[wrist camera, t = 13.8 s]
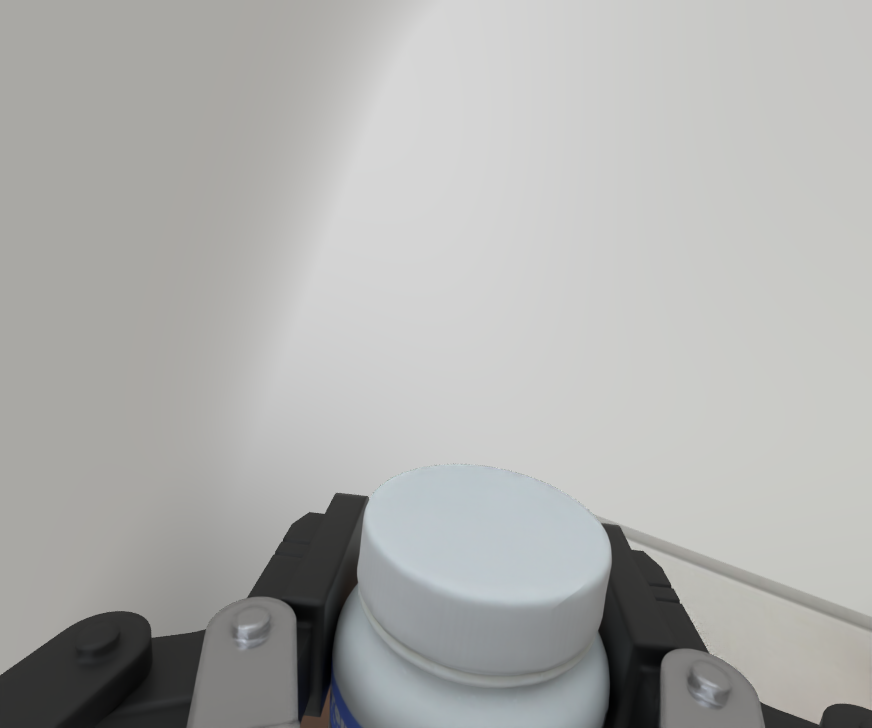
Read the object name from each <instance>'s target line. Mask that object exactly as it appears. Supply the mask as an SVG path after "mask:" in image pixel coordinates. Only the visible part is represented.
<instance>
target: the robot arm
mask: <svg viewBox="0 0 872 728" xmlns="http://www.w3.org/2000/svg"><path fill="white" fill-rule="evenodd" d="M368 501H369V497H368V496H361V495H352V494H342V493H336V494H335V495H334V497H333V499H332V501H331V503H330V505H329V507H328V509H327V511H326V513H325V514H319V513H311V512H309V513H308V514H306V515H305V516H303V517H302V518H300V519H299V520H297V521H296V522H295V523H293V524H292V525H291V527H290V528H289V530H288V532H287V534H286V535H285V537H284V539H283V542H281V543H280V545H279V546H278V548H277V550H276V551H275V555H273V556H272V558H271V560H270V561H269V563H268V565H267V566H266V568H265V569H264V571H263V573H262V574H261V576H260V578H259V579H258V581H257V583H256V584H255V586H254V587H253V589H252V591H251V592H250V594H249V596H248V597H247V598H246V599H242V600H239V601H236V602H234V603H232V604H230V605H228V606H226V607H224V608H223V609H221V610H220V611H219V612H218V613H217V614H216V615H215V616H214V617H213V618H212V619H211V621H210V622H209V624H208V626H207V629H205V630H201V631H198V632H192V633H186V634H179V635H171V636H163V637H156V638H152V637H151V627H150V624H149V623H148V621H147V620H146V619H145V618H144V617H142V616H140V615H139V614H136V613H132V612H125V611H115V612H107V613H103V614H98V615H95V616H92V617H89V618H86V619H84V620H81V621H79V622H77V623H76V624H74V625H72V626H70V627H69V628H67V629H66V630H64V631H63V632H61V633H60V634H58V635H57V636H56V637H54V638H53V639H51V640H50V641H48V642H47V643H46V644H44V645H43V646H41V647H40V648H38V649H37V650H36V651H34V652H33V653H31V654H30V655H29V656H27V657H26V658H24V659H23V660H21V661H20V662H19V663H17V664H16V665H14V666H13V667H12V668H10V669H9V670H7V671H6V672H4V673H3V674H2V675H0V728H300V724H301V721H302V719H303V716H304V715H305V716H313V717H321V714H322V711H323V707H324V704H325V701H326V698H327V695H328V691H329V688H330V685H331V661H332V650H333V642H334V635H335V631H336V626H337V622H338V618H339V615H340V612H341V610H342V607H343V605H344V603H345V601H346V600H347V598H348V596H349V595H350V593H351V592H352V590H353V589H354V587H355V586H356V585H357V584H358V578H357V566H358V560H359V555H360V545H361V535H362V526H363V518H364V512H365V508H366V506H367V504H368ZM601 525H602V526H603V528H604V529H605V531H606V533H607V535H608V538H609V541H610V545H611V555H612V565H611V570H610V575H609V581H608V586H607V591H606V596H605V604H604V611H603V617H602V620H601V624H600V627H599V629H598V632H599V634H600V636H601V639H602V642H603V645H604V647H605V651H606V654H607V657H608V664H609V675H610V694H609V709H608V712H607V716H606V720H605V724H604V727H603V728H872V710H869V709H866V708H863V707H860V706H856V705H851V704H834V705H831V706H829V707H827V708H826V710H825V711H824V713H823V716H822V719H821V721H820V724H819V725H818V724H815V723H813V722H810V721H807V720H804V719H802V718H799V717H796V716H794V715H791V714H788V713H785V712H783V711H780V710H777V709H775V708H772V707H770V706H768V705H765V704H763V703H761V702H760V701H759V698H758V695H757V693H756V691H755V689H754V688H753V686H752V685H751V684H750V682H749V681H748V680H747V679H746V678H745V677H744V676H743V675H742V674H741V673H740V672H739V671H738V670H737V669H735V668H734V667H732V666H731V665H730V664H728V663H727V662H725V661H723V660H722V659H720V658H718V657H716V656H714V655H711V654H709V652H708V650H707V648H706V647H705V645H704V643H703V641H702V639H701V638H700V636H699V634H698V632H697V630H696V629H695V627H694V625H693V623H692V621H691V620H690V618H689V616H688V614H687V612H686V611H685V609H684V607H683V605H682V604H680V600H679V598H678V596H677V594H676V593H675V591H674V589H672V588H671V584H670V582H669V580H668V578H667V576H666V575H665V573H664V571H663V569H662V567H660V566H659V565H658V564H657V563H656V562H655V561H654V560H653V559H651V558H650V557H649V556H648V555H647V554H646V553H645V552H644V551H637V550H631V548H630V546H629V544H628V542H627V540H626V538H625V536H624V534H623V532H622V530H621V528H620V526H619V525H613V524H605V523H601Z"/></svg>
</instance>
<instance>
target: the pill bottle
mask: <svg viewBox="0 0 872 728" xmlns="http://www.w3.org/2000/svg"><path fill="white" fill-rule="evenodd" d="M611 565H612V555H611V545H610V541H609V538H608V535H607V533H606V531H605V529H604V528H603V526H602V525H601V523H600V522H599V520H598V519H597V518H596V517H595V516H594V514H592V513H591V512H590V511H589V510H588V509H587V508H586V507H585V506H583V505H582V504H581V503H580V502H579V501H577V500H576V499H574V498H572V497H571V496H569V495H568V494H566V493H564V492H563V491H561V490H559V489H558V488H556V487H553V486H552V485H550V484H548V483H545V482H543V481H540V480H538V479H535V478H532V477H529V476H526V475H523V474H520V473H516V472H512V471H509V470H505V469H498V468H494V467H488V466H481V465H469V464H447V465H435V466H428V467H422V468H418V469H414V470H410V471H407V472H404V473H401V474H399V475H397V476H395V477H392V478H391V479H389V480H387V481H386V482H385V483H384V484H382V485H381V486H380V487H379V488H378V489H377V490H376V491H375V492H374V493H373V495H372V496H371V498H370V499H369V501H368V504H367V506H366V508H365V512H364V518H363V526H362V535H361V545H360V555H359V560H358V566H357V578H358V584H357V585H356V586H355V587H354V589H353V590H352V592H351V593H350V595H349V596H348V598H347V600H346V601H345V603H344V605H343V607H342V610H341V612H340V615H339V618H338V622H337V626H336V631H335V635H334V642H333V650H332V661H331V686H330V709H329V726H328V728H603V727H604V724H605V720H606V716H607V712H608V709H609V694H610V675H609V664H608V657H607V654H606V651H605V647H604V645H603V642H602V639H601V636H600V634H599V632H598V629H599V627H600V624H601V620H602V617H603V611H604V604H605V596H606V591H607V586H608V581H609V575H610V570H611Z"/></svg>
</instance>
